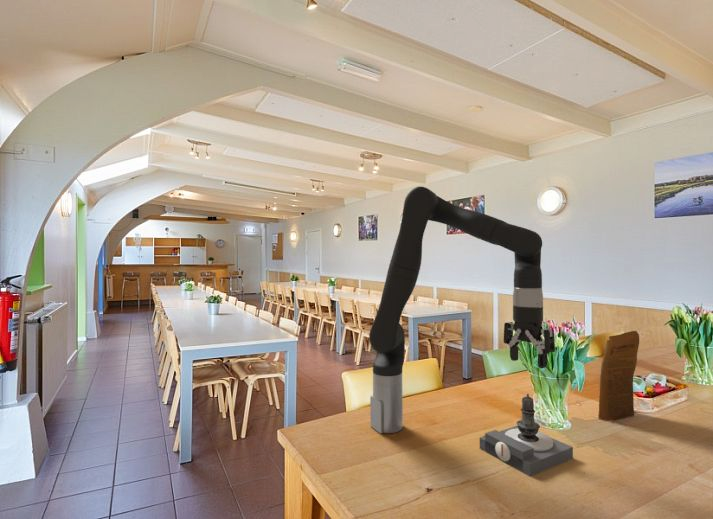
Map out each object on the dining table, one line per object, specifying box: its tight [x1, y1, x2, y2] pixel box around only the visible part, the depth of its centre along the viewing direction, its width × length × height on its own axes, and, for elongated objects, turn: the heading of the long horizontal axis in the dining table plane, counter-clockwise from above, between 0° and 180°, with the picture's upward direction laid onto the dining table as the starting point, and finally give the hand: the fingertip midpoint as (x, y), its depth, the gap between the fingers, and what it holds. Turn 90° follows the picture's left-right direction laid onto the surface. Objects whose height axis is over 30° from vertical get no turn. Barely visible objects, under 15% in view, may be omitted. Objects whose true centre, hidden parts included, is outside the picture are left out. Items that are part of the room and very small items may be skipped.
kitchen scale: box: [479, 425, 574, 477], centre depth 105 cm, size 17×16×5 cm
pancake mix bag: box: [598, 330, 640, 421], centre depth 129 cm, size 7×19×28 cm, turn 112°
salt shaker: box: [516, 393, 541, 442], centre depth 106 cm, size 6×6×12 cm
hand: (527, 363), depth 106 cm, fingers open, 8 cm apart
